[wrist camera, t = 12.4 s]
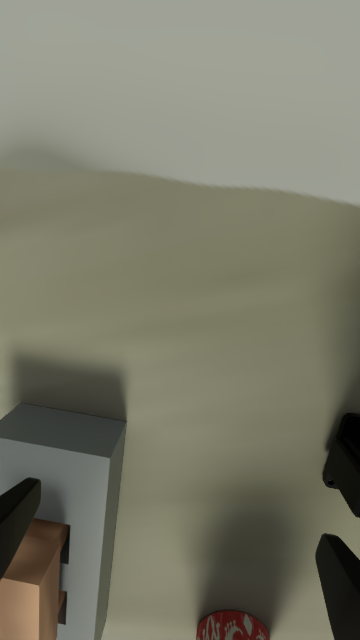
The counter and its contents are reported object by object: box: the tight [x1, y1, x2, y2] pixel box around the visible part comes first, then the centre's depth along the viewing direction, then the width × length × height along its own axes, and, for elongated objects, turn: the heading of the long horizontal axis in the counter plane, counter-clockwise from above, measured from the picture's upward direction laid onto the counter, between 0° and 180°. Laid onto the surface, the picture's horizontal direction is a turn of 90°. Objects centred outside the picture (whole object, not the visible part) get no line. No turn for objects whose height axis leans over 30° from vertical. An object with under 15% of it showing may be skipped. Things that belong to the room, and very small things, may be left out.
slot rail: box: [0, 403, 127, 640], centre depth 23 cm, size 9×24×4 cm, turn 172°
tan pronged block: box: [0, 518, 71, 640], centre depth 21 cm, size 4×10×6 cm, turn 172°
